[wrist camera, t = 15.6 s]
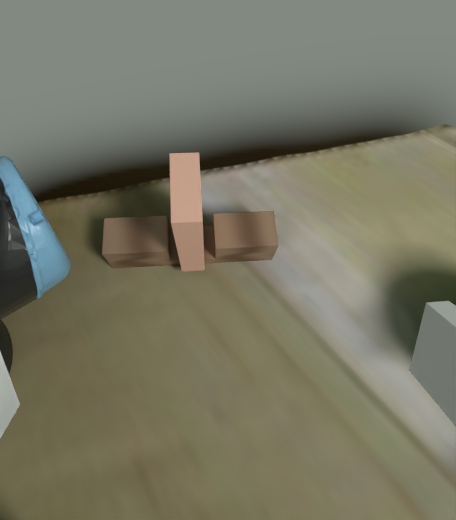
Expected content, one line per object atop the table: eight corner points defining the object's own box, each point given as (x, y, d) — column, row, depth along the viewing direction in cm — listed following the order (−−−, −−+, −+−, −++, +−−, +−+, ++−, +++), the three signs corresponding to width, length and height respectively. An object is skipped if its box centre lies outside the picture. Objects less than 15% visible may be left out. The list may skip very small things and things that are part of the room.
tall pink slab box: (182, 271, 45) (171, 222, 32) (180, 218, 48) (169, 153, 35) (204, 270, 46) (202, 221, 33) (201, 217, 48) (198, 152, 35)
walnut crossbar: (112, 268, 47) (102, 254, 42) (114, 234, 48) (104, 218, 44) (271, 259, 48) (278, 245, 44) (267, 227, 50) (273, 211, 45)
